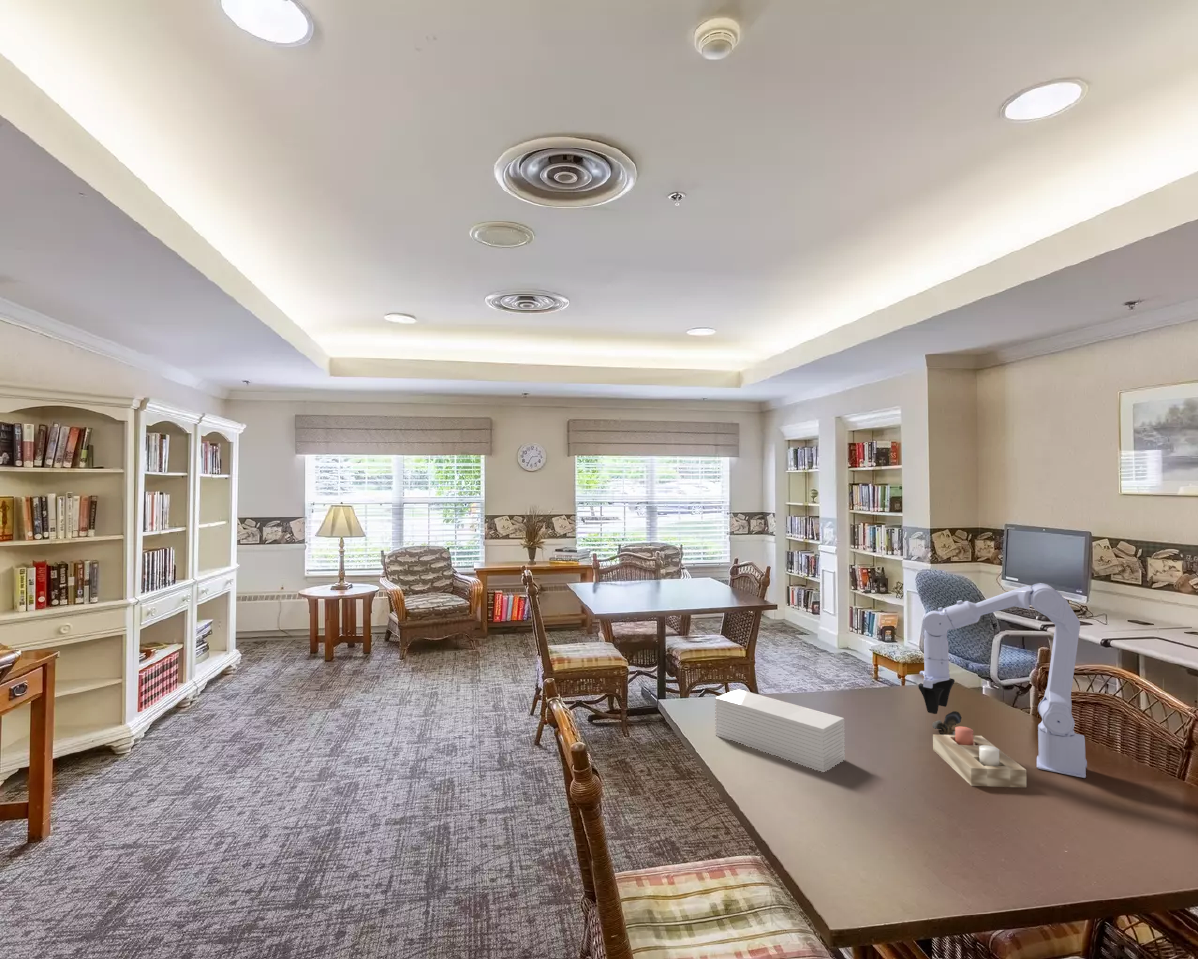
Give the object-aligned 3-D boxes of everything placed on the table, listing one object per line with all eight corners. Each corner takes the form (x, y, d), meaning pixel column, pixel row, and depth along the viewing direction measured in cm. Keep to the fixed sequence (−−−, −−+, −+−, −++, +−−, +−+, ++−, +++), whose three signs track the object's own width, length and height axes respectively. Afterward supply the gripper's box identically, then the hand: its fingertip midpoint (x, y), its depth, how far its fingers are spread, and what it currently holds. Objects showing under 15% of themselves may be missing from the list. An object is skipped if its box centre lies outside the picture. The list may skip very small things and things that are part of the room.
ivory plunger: (993, 764, 151) (993, 745, 151) (1003, 771, 147) (1002, 752, 147) (976, 763, 151) (975, 744, 151) (984, 771, 147) (984, 751, 147)
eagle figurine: (968, 740, 168) (968, 723, 176) (951, 717, 169) (952, 701, 177) (941, 750, 172) (943, 733, 180) (925, 727, 173) (927, 711, 181)
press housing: (981, 751, 164) (981, 735, 164) (1026, 787, 144) (1026, 769, 144) (933, 749, 165) (932, 734, 165) (971, 785, 145) (971, 768, 145)
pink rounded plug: (968, 744, 163) (968, 726, 163) (976, 750, 159) (976, 732, 159) (952, 743, 163) (952, 726, 163) (960, 750, 159) (959, 732, 159)
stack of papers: (844, 760, 159) (844, 717, 160) (823, 774, 152) (823, 729, 152) (738, 726, 183) (737, 688, 183) (715, 736, 176) (715, 697, 176)
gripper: (929, 649, 175) (930, 699, 175) (910, 660, 165) (911, 712, 165) (957, 654, 170) (958, 705, 170) (939, 665, 160) (940, 719, 160)
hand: (937, 709), depth 167 cm, fingers open, 7 cm apart
